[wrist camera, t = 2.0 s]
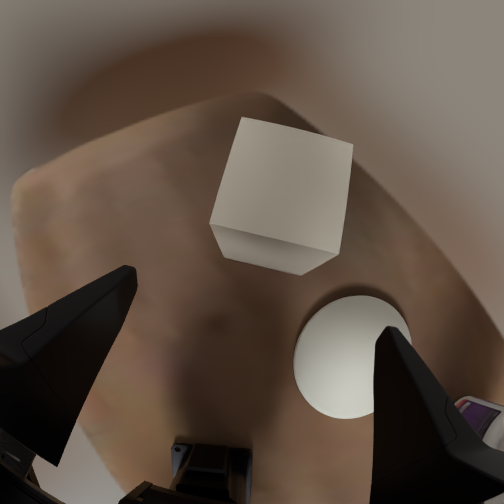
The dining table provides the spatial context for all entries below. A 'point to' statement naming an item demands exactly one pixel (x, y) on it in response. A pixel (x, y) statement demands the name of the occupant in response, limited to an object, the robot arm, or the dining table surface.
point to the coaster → (343, 354)
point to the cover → (282, 197)
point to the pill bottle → (484, 419)
